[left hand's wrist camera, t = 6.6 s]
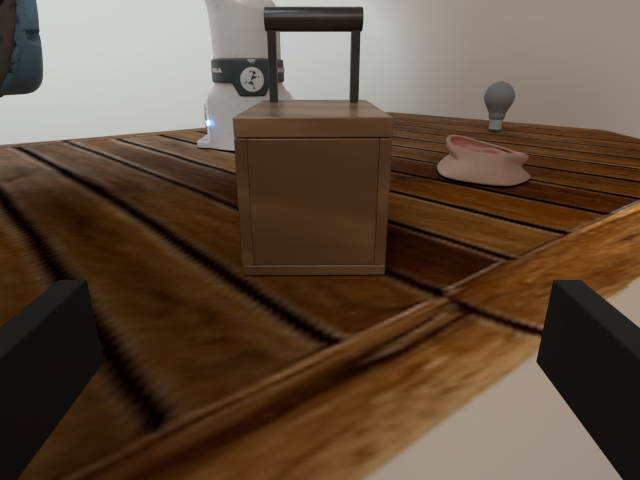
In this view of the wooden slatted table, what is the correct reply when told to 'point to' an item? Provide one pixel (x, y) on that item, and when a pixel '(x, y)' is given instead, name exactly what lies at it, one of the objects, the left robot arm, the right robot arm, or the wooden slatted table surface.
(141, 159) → the wooden slatted table surface
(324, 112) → the lid
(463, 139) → the anatomical model
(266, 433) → the wooden slatted table surface
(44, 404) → the left robot arm
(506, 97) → the light bulb
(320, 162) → the chest
